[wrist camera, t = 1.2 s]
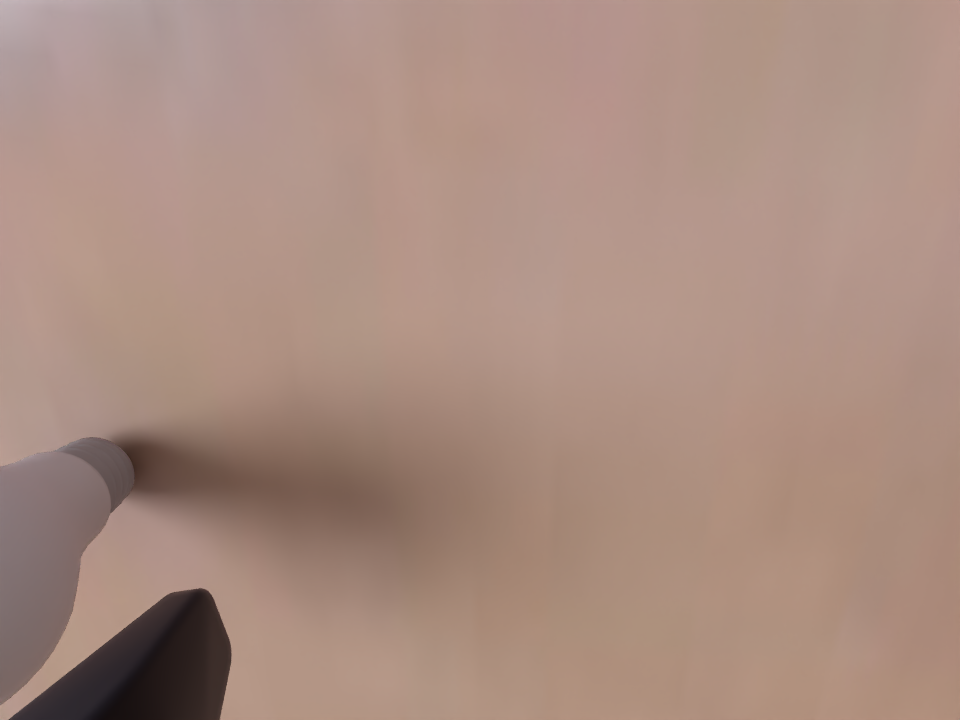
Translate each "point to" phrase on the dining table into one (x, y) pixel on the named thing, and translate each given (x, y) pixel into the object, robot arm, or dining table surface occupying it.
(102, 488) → the lightbulb
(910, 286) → the dining table surface
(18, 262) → the dining table surface
